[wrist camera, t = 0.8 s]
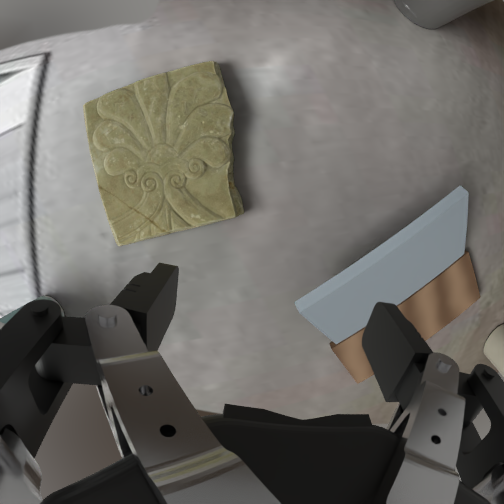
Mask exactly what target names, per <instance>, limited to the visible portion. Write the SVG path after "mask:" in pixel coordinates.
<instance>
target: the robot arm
mask: <svg viewBox="0 0 504 504" xmlns="http://www.w3.org/2000/svg"><path fill="white" fill-rule="evenodd" d="M491 1H493V0H394V2H395V4H396V5H397V7H398V8H399V10H400V11H401V12H402V13H403V14H404V15H405V16H406V17H407V18H408V19H409V20H411V21H412V22H414V23H415V24H417V25H419V26H421V27H424V28H427V29H437V28H439V27H441V26H443V25H445V24H447V23H448V22H450V21H452V20H454V19H456V18H458V17H460V16H462V15H464V14H466V13H468V12H470V11H472V10H474V9H476V8H478V7H480V6H482V5H484V4H487V3H489V2H491ZM178 274H179V268H178V266H174V265H169V264H164V263H159V264H158V265H157V266H156V267H155V269H154V270H153V271H152V272H151V273H146V272H143V273H141V274H139V275H137V276H135V277H134V278H133V279H132V280H131V281H130V282H129V284H127V286H126V287H125V288H124V290H122V291H121V292H120V294H119V295H118V296H117V297H116V298H115V299H114V301H113V302H112V303H111V304H110V305H100V306H96V307H94V308H92V309H90V310H89V311H88V312H87V313H86V315H85V318H76V317H64V316H62V313H61V307H60V306H59V304H57V303H56V302H54V301H52V300H46V299H40V300H34V301H31V302H29V303H27V304H26V305H24V306H23V307H22V308H21V309H20V310H19V311H18V312H17V313H16V314H15V315H14V316H13V317H12V318H11V319H10V320H9V321H8V322H7V323H6V324H5V325H4V326H3V327H2V328H1V329H0V504H504V382H503V380H502V379H501V377H500V376H499V375H498V373H497V372H496V371H495V370H493V369H492V368H491V367H489V366H487V365H484V364H477V365H476V366H475V367H474V369H473V371H472V372H471V374H466V373H462V372H459V367H458V365H457V363H456V362H455V361H454V360H453V359H451V358H450V357H448V356H446V355H444V354H441V353H433V352H432V350H431V349H430V347H429V346H428V345H427V343H426V342H425V340H424V339H423V338H421V335H420V333H419V332H417V329H416V328H415V327H414V325H413V324H412V323H411V322H410V321H409V320H407V319H406V318H405V316H404V315H403V314H402V312H401V311H400V310H399V308H398V307H397V306H396V305H395V304H392V303H385V302H377V303H376V304H375V306H374V308H373V311H372V313H371V316H370V318H369V321H368V323H367V325H366V328H365V330H364V333H363V336H362V347H363V350H364V352H365V354H366V356H367V359H368V361H369V363H370V365H371V368H372V370H373V372H374V375H375V377H376V379H377V382H378V384H379V386H380V389H381V391H382V393H383V396H384V398H385V401H386V402H399V405H398V406H397V408H396V409H395V411H394V413H393V416H392V418H391V420H390V422H389V424H388V427H387V429H385V428H382V427H379V426H376V425H372V423H371V420H370V417H369V414H336V415H331V416H325V417H320V418H314V419H307V420H300V419H296V418H292V417H289V416H285V415H282V414H278V413H275V412H271V411H268V410H265V409H259V408H251V407H244V406H237V405H230V404H225V406H224V410H223V414H218V415H208V416H204V417H200V415H199V414H198V412H197V411H196V409H195V408H194V406H193V405H192V404H191V402H190V401H189V399H188V398H187V396H186V395H185V393H184V391H183V390H182V388H181V387H180V385H179V384H178V382H177V381H176V379H175V377H174V376H173V374H172V373H171V371H170V369H169V368H168V366H167V365H166V363H165V361H164V360H163V358H162V356H161V355H160V353H159V352H158V351H157V350H158V348H159V346H160V344H161V342H162V339H163V337H164V335H165V333H166V331H167V329H168V326H169V324H170V322H171V320H172V318H173V315H174V311H175V306H176V297H177V285H178ZM73 383H78V384H89V385H96V387H97V390H98V393H99V396H100V399H101V402H102V405H103V408H104V411H105V413H106V416H107V419H108V421H109V424H110V427H111V429H112V432H113V435H114V438H115V441H116V444H117V446H118V449H119V451H120V453H121V456H122V458H123V459H121V460H119V461H117V462H116V463H114V464H112V465H110V466H108V467H106V468H104V469H102V470H100V471H98V472H96V473H94V474H92V475H90V476H88V477H86V478H84V479H82V480H80V481H78V482H75V483H73V484H71V485H69V486H67V487H64V488H62V489H60V490H58V491H56V492H53V493H52V494H50V495H49V496H47V497H46V498H45V499H44V500H43V501H42V498H41V494H40V485H41V480H42V475H41V470H40V468H39V466H38V464H37V462H36V461H35V460H34V458H35V456H36V454H37V451H38V449H39V447H40V445H41V443H42V441H43V439H44V437H45V435H46V433H47V431H48V429H49V427H50V425H51V423H52V421H53V419H54V417H55V415H56V413H57V412H58V410H59V408H60V406H61V404H62V402H63V400H64V399H65V397H66V395H67V393H68V391H69V389H70V388H71V386H72V384H73ZM483 408H484V410H485V412H486V413H487V415H488V417H489V419H490V421H491V429H490V431H489V433H488V434H487V435H486V437H485V438H484V439H483V440H481V438H480V436H479V434H478V432H477V430H476V428H475V427H474V424H473V423H472V421H473V420H474V419H475V418H476V416H477V415H478V414H479V413H480V411H481V410H482V409H483ZM455 467H457V470H458V472H459V474H458V473H456V472H455ZM459 475H460V478H461V480H462V482H461V481H460V480H459Z"/></svg>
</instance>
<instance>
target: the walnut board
mask: <svg viewBox="0 0 504 504" xmlns="http://www.w3.org/2000/svg"><path fill="white" fill-rule="evenodd" d="M479 298H480V294H479V289H478V285H477V281H476V277H475V273H474V270H473V266H472V262H471V259H470V255H469V252H468V251H466V250H465V251H464V254H463V255H462V256H461V257H460V258H459V259H457V260H456V261H455V262H454V263H453V264H451V265H450V266H449V267H448V268H446V269H445V270H444V271H443V272H441V273H440V274H439V275H437V276H436V277H435V278H434V279H432V280H431V281H430V282H428V283H427V284H426V285H424V286H423V287H422V288H420V289H419V290H418V291H416V292H415V293H414V294H412V295H411V296H409V297H408V298H407V299H405V300H404V301H402V302H401V303H400V304H398V305H397V307H398V308H399V310H400V311H401V312H402V314H403V315H404V316H405V318H406V319H407V320H409V321H410V322H411V323H412V324H413V325H414V327H415V328H416V329H417V332H419V333H420V335H421V338H423V339H424V340H425V341H426V340H427V339H429V338H430V337H431V336H433V335H434V334H435V333H437V332H438V331H439V330H441V329H442V328H443V327H445V326H446V325H447V324H449V323H450V322H451V321H452V320H454V319H455V318H456V317H458V316H459V315H460V314H461V313H462V312H464V311H465V310H466V309H467V308H468V307H470V306H471V305H472V304H473V303H474V302H476V301H477V300H478V299H479ZM365 328H366V326H365V327H364V328H362V329H361V330H359V331H357V332H356V333H354V334H353V335H351V336H349V337H348V338H346V339H344V340H343V341H341V342H339V343H338V344H335V343H334V342H333V341H332V342H331V343H330V346H331V349H332V350H333V352H334V353H335V354H336V356H337V357H338V358H339V360H340V361H341V362H342V364H343V365H344V366H345V368H346V369H347V370H348V372H349V373H350V374H351V376H352V377H353V378H354V380H355V381H356V382H357V384H358V383H360V382H362V381H364V380H365V379H367V378H369V377H370V376H372V375H374V372H373V370H372V368H371V365H370V363H369V361H368V359H367V356H366V354H365V352H364V350H363V347H362V336H363V333H364V330H365Z"/></svg>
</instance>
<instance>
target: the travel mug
mask: <svg viewBox="0 0 504 504" xmlns="http://www.w3.org/2000/svg"><path fill="white" fill-rule="evenodd" d="M484 354H485V355H486V357H487V358H488V359H489V360H490V361H491V362H492V364H493V365H494V366H495V367H496V368H497V369H498V371H499V372H500V373H501V374H502V375H503V377H504V324H503V325H500V326H499V327H497V328H496V329H495V330H494V331H493V332H492V333H491V335H490V336H489V337H488V339H487V341H486V343H485V346H484Z"/></svg>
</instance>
